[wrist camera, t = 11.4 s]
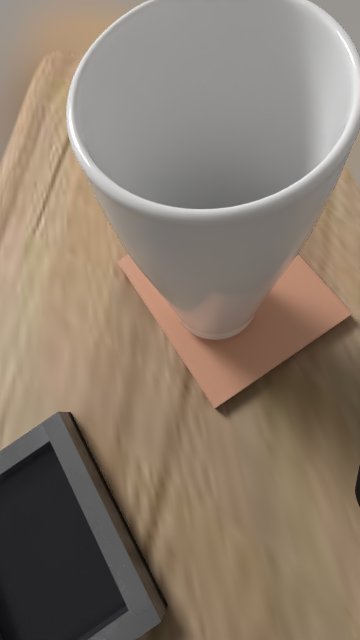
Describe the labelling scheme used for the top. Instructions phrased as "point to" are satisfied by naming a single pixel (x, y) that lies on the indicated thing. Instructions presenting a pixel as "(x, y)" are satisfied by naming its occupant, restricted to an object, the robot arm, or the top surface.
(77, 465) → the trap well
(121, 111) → the white cup
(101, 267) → the top surface
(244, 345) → the terracotta tile
